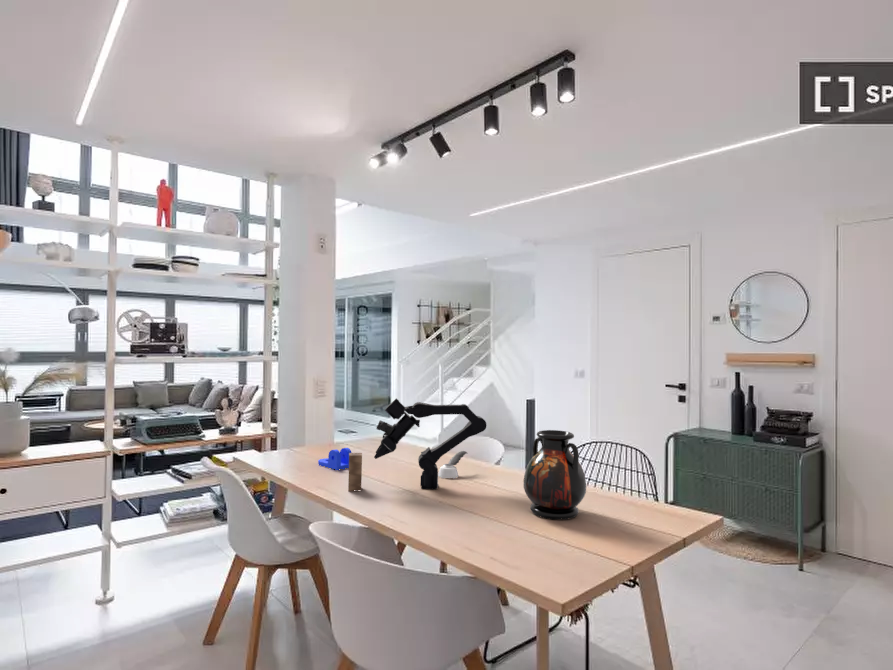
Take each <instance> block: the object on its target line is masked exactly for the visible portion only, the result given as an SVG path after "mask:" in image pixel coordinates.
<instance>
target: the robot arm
mask: <svg viewBox="0 0 893 670" xmlns="http://www.w3.org/2000/svg"><path fill="white" fill-rule="evenodd" d="M384 412H386V414H387V415H389V417H391V419H393V420H398V421H397V422H396V423H393V425H392V424H390V423H389V422H385V421H382V420H379V422H378V423H377V426H376V430H378V431H382V432H383V434H382V439H381V440H380V445H379V446H378V447H377V449H376V451H375V454H374V457H373V458H374V459H375V460H376V459H379V458H381V457H384V456H386V455H388V454H390V453H393V452H394V451H395V450H396V449H397V445H398V444H399V442H400V441H402V439H403V438H404V437H405V436H406V434H407V433H408V432H410V430H411V429H412V428H413V427H414V426H416V427H418V428H420V427H421V425H420V422H421V420H420V419H422V418H427V417H430V416H436V415H438V416H439V415H440V416H441V415H443V416H445V415H463V416H464V417H465V419H467V420H468V422H466V424H465V426H463V428H462V429H461V430H458V431H457V432H456V433H454V434H453V435H452V436H450V437H449V438H447V440H446V439H445V441H443V442H441V444H439V445H438V446H436V447H435V448H432V449H431V448H430V446H428V447H427V448H425V450H423V451H421V452H420V453H421V454H420V455H419V456H418V458H417V460H418V461H417V462H418V466H419V467H420V469H421V470H422V471H421V475H420V483H419V484H420V490H423V489H424V490H438V487H439V486H440V485H439V477H438V473H439V469H438V466H437V464H436V463H438V461H439V460H440V459H441V457H442V456H444V455H445V454H447V453H448V452H450V451H452V450H453V449H454V448H456V447H457V446H459V444H461V443H463V442H464V441H466V440H468V438H470V437H473V436H475V435H476V436H477V435H479V434H481V433H483V432H484V431H486V428H487V422H486V420H485V419H484V418H483V417H481V416H479V415H476V414H475V413H474V412H473V411H472V410H471V409H470V408H469V406H468V405H467V404H465V403H462V404H430V403H426V402H422V401H421V402H420V401H417V402H415V403H413V405H409V406H408V405H407V406H405V405H403V404H402V403H401V401H400V400H399V399H398V398H395V399H394V400H393V401H392V402H390V403H389V404H388V405H387V406H386V407H385V409H384Z"/></svg>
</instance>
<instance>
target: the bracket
mask: <svg viewBox="0 0 893 670" xmlns="http://www.w3.org/2000/svg"><path fill="white" fill-rule="evenodd" d="M349 453H353V452H352V450H351V449H350V448H349V447H344V448H341V449H340V451H339V450H338V449H331V450H329V452H328V457H327V458H320V459H318V460H317V461H318V463H317V465H318V464H319V465H318V466H320V465H321V466H320V467H323V466H325V467H324V468H326V467H328V468H327V469H329V468H332V469H331V470H333V469H335V470H334V471H336V470H338V471H340V470H339V469H343V470H346V469H345V468H348V469H349Z"/></svg>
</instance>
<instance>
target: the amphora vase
mask: <svg viewBox="0 0 893 670" xmlns="http://www.w3.org/2000/svg"><path fill="white" fill-rule="evenodd" d="M536 436H537V437H536V438H535V439H534V440H533V445H532V458H530V460H529V462H528V464H527V465H526V468H525V472H524V475H523V481H522V482H523V490H524V492H525V495H526V496H527V498H528V499H529V500H530V502H531V504H530V507H529V508H530V511H531V512H532V514H534V515H536V516H537V515H538V517H540V516H541V517H540V518H543V517H544V519H547V518H550V519H549V520H555V519H564V520H569V519H568V518H571V519H573V518H575V517H576V516H577V515H579V509H578V507H577V506H578V505H579V504H580V503H581V502H582V501H583V499H584V498H585V496H586V493H587V481H586V475H585V472H584V468H583V466H582V465H581V463H580V458H579V457H580V456H579V450H578V447H577V445H576V444H575V443H573V442H569V441H570V440H572V439H574V437H575V435H574V433H573V432H570V431H566V430H565V431H564V430H558V429H557V430H555V429H548V430H547V429H546V430H545V429H544V430H543V429H542V430H539V431H537V432H536ZM539 442H540V444H541V447H540V449H539V451H538V448H539V447H538V446H539ZM570 448H571V450H572V452H571V450H570Z"/></svg>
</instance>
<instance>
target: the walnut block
mask: <svg viewBox="0 0 893 670" xmlns="http://www.w3.org/2000/svg"><path fill="white" fill-rule="evenodd" d="M362 464H363V452H352V453H349V468H348V485H347V486H348V488H347V489H348V492H355V491H354V490H361V491H362V476H363V475H362V471H363V466H362Z"/></svg>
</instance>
